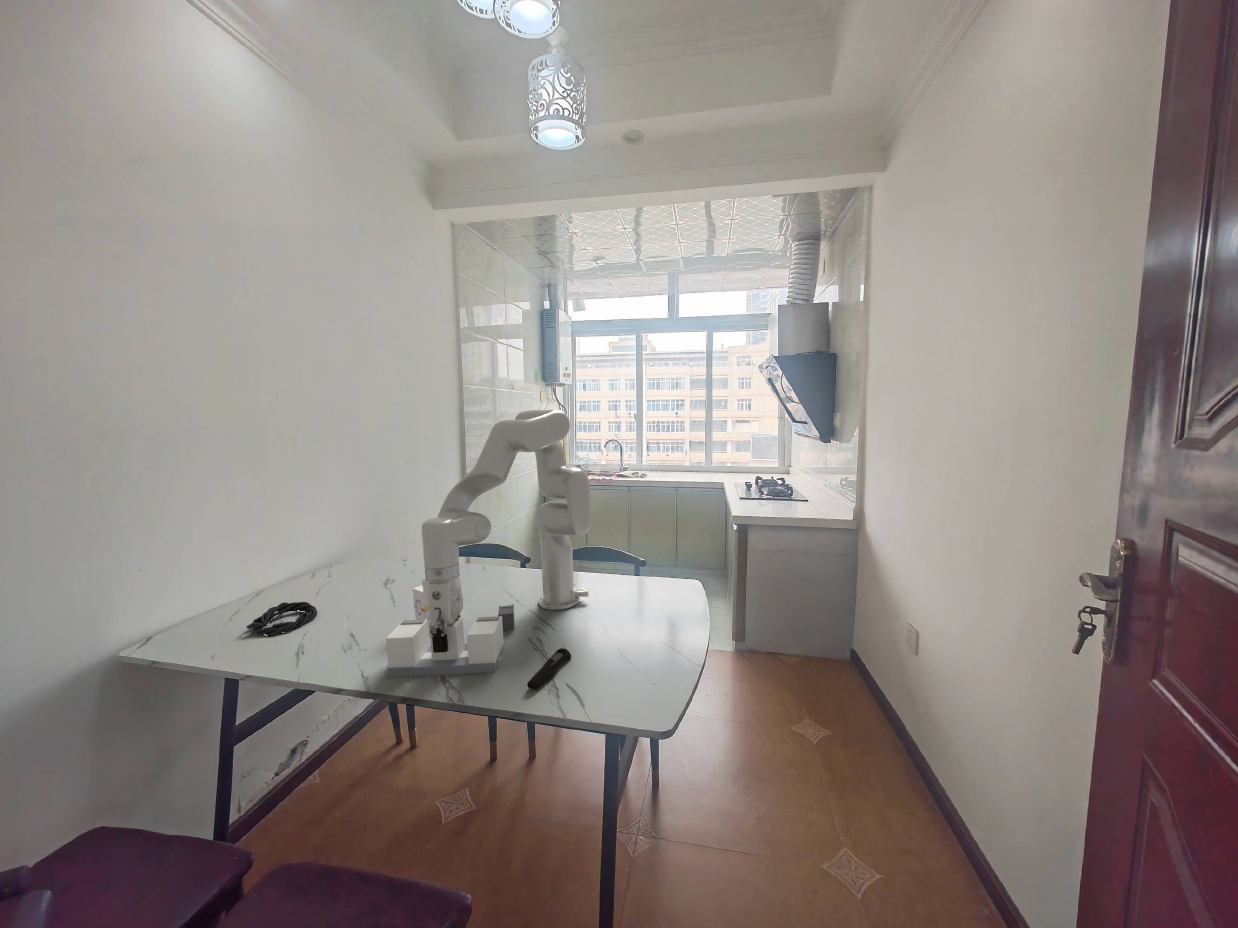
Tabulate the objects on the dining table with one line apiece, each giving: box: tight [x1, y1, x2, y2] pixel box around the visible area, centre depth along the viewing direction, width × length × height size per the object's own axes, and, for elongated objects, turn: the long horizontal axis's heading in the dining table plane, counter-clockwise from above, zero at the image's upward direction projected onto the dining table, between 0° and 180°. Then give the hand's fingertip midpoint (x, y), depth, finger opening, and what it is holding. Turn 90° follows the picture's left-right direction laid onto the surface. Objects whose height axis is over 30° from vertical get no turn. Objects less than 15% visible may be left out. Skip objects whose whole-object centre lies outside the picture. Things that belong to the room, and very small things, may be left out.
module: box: [429, 616, 465, 661], centre depth 109 cm, size 6×5×8 cm
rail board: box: [385, 615, 505, 678], centre depth 109 cm, size 24×10×9 cm, turn 92°
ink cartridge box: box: [412, 578, 430, 632], centre depth 129 cm, size 9×5×15 cm, turn 148°
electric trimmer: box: [526, 647, 572, 690], centre depth 103 cm, size 4×16×3 cm, turn 158°
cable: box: [246, 601, 318, 636], centre depth 134 cm, size 17×14×4 cm
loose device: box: [497, 603, 515, 633], centre depth 127 cm, size 4×6×5 cm, turn 12°
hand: (448, 641), depth 109 cm, fingers open, 9 cm apart
